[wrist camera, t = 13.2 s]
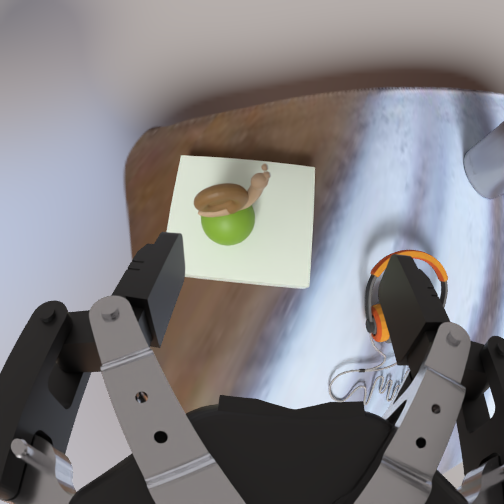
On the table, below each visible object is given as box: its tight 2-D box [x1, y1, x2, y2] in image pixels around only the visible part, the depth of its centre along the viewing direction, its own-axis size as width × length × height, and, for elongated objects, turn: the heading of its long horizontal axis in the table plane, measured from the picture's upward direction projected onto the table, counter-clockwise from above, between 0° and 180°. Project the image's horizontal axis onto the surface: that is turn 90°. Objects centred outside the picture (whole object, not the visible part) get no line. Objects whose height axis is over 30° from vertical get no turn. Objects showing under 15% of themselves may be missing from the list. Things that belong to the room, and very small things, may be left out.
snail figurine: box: [194, 164, 271, 246], centre depth 27 cm, size 5×6×12 cm
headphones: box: [329, 250, 448, 405], centre depth 32 cm, size 16×5×20 cm
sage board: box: [167, 155, 315, 289], centre depth 35 cm, size 16×14×3 cm
